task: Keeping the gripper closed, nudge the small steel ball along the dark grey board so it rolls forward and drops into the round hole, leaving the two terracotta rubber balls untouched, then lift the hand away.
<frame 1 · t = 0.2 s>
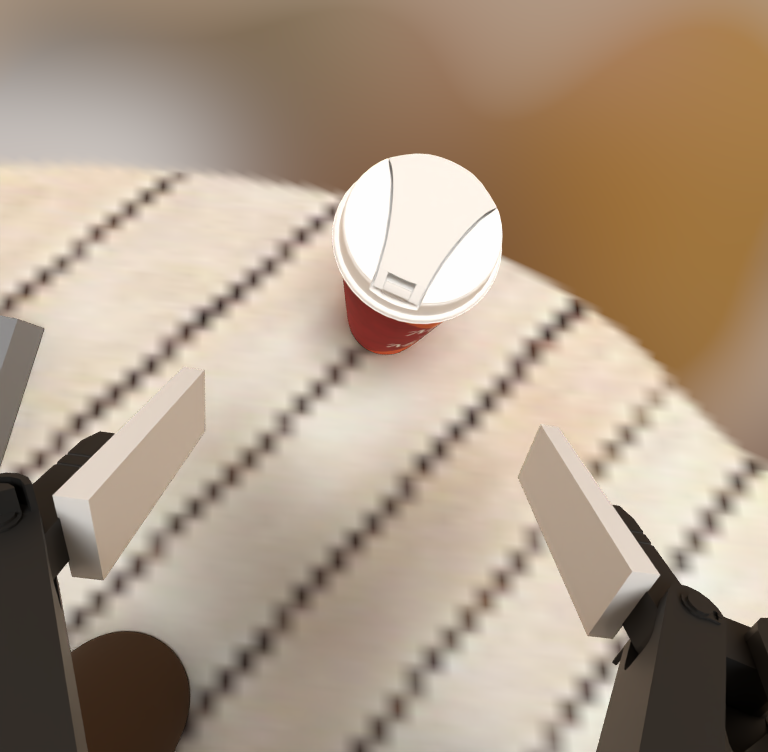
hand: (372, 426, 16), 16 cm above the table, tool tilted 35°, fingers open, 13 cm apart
olive oil: (117, 705, 27), on the table
coffee cup: (385, 318, 33), on the table
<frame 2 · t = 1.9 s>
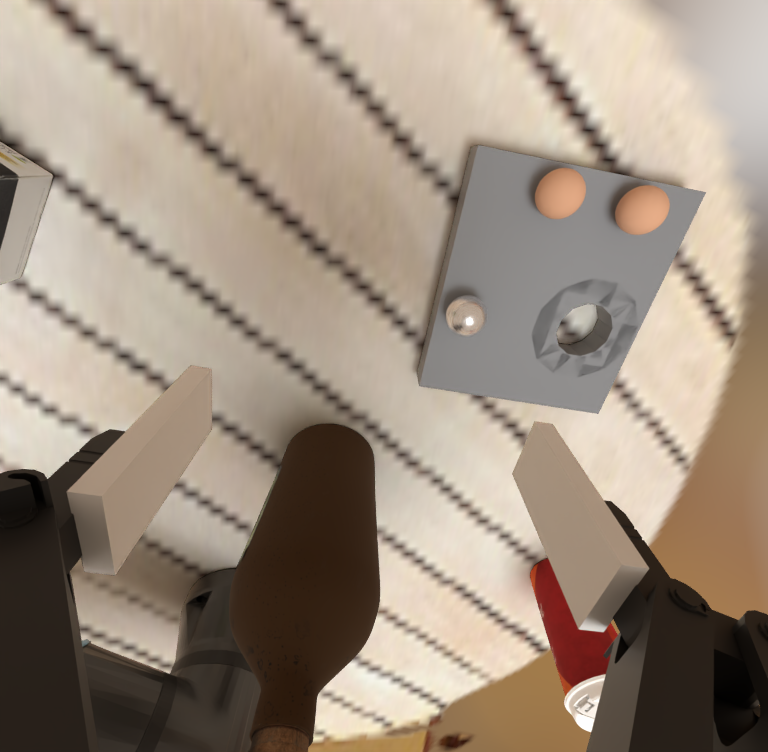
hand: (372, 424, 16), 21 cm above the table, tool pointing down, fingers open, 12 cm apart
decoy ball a: (559, 194, 28), point 4 cm above the table, touching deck
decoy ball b: (641, 210, 28), point 4 cm above the table, touching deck
ball: (466, 315, 31), point 4 cm above the table, touching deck
olive oil: (329, 458, 43), on the table
coffee cup: (553, 571, 51), on the table
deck: (536, 291, 35), on the table
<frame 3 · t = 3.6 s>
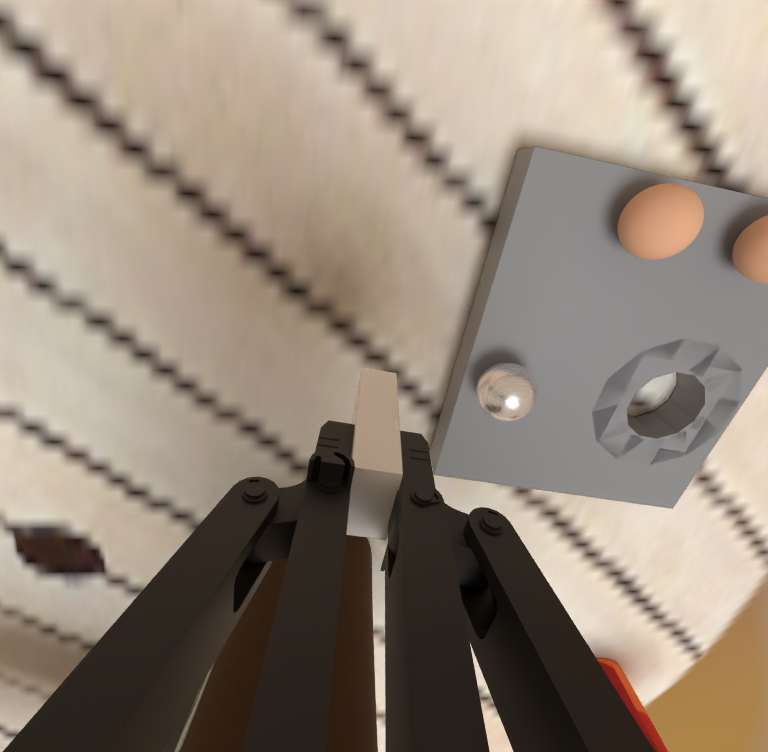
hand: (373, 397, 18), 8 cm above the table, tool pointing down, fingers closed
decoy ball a: (658, 222, 18), point 4 cm above the table, touching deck
ball: (506, 391, 22), point 4 cm above the table, touching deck
olive oil: (313, 549, 33), on the table
coffee cup: (590, 672, 42), on the table
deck: (597, 349, 25), on the table
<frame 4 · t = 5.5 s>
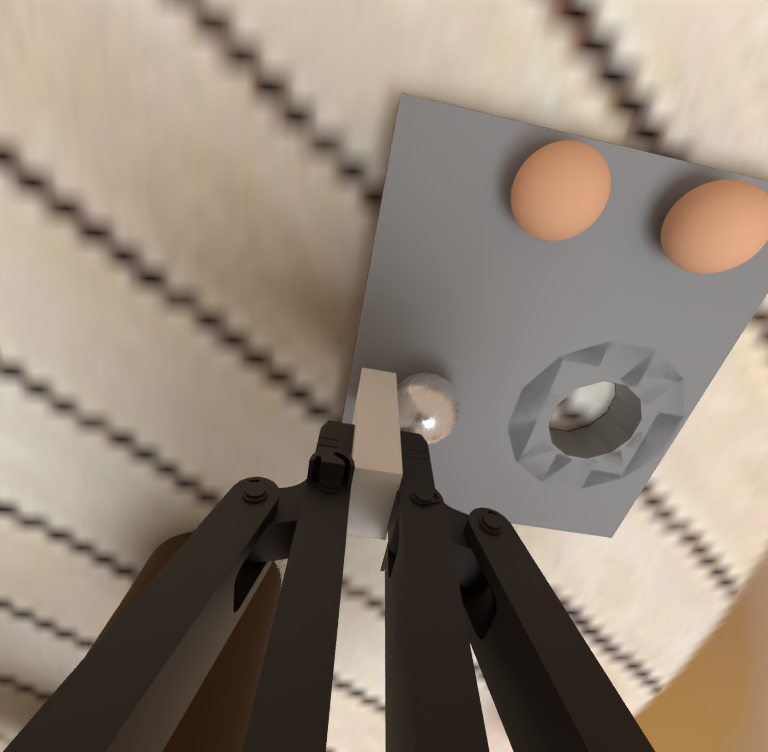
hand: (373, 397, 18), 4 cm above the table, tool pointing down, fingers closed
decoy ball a: (558, 193, 14), point 4 cm above the table, touching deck
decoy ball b: (713, 228, 15), point 4 cm above the table, touching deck
ball: (424, 408, 18), point 4 cm above the table, tilted 51°, touching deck
olive oil: (216, 573, 29), on the table
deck: (518, 352, 21), on the table
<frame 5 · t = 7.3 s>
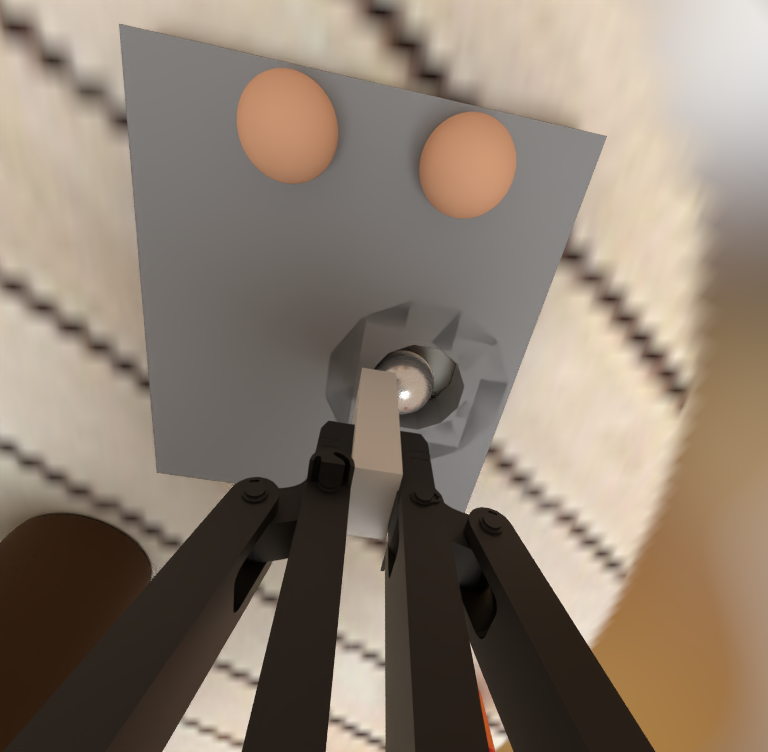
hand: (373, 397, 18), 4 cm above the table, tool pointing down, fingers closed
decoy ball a: (288, 129, 13), point 4 cm above the table, touching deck
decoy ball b: (466, 168, 14), point 4 cm above the table, touching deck
ball: (401, 382, 20), point 2 cm above the table, tilted 21°
olive oil: (84, 558, 29), on the table
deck: (343, 318, 20), on the table
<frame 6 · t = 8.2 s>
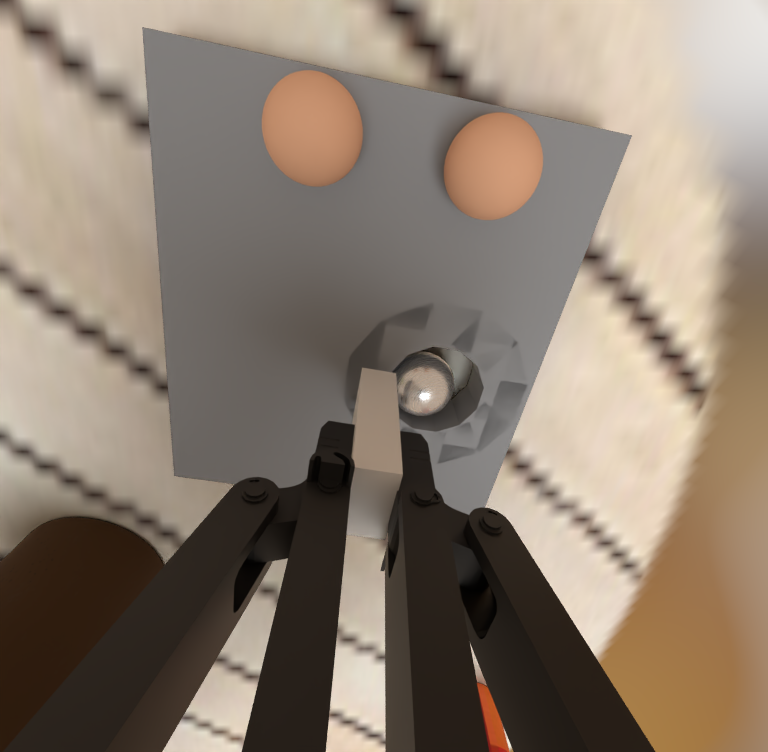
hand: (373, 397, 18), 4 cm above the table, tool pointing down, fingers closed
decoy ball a: (313, 132, 13), point 4 cm above the table, touching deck
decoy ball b: (491, 169, 14), point 4 cm above the table, touching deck
ball: (421, 383, 20), point 2 cm above the table, tilted 22°
olive oil: (99, 560, 29), on the table
coffee cup: (461, 696, 37), on the table
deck: (360, 320, 20), on the table
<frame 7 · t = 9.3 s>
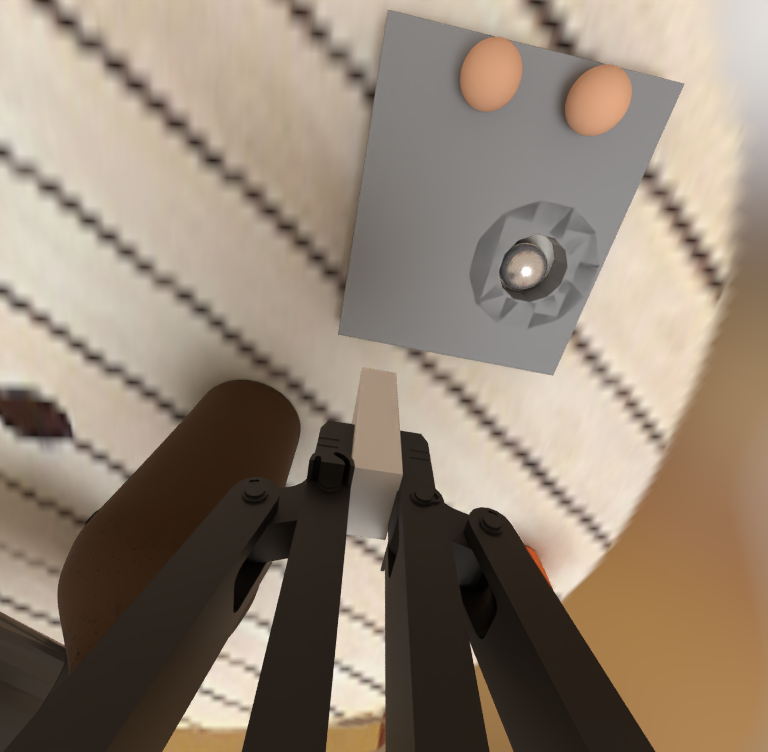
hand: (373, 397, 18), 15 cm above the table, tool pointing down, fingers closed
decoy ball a: (490, 75, 21), point 4 cm above the table, touching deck
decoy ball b: (597, 101, 22), point 4 cm above the table, touching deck
ball: (522, 266, 29), point 2 cm above the table, tilted 25°
olive oil: (250, 421, 38), on the table
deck: (479, 222, 29), on the table
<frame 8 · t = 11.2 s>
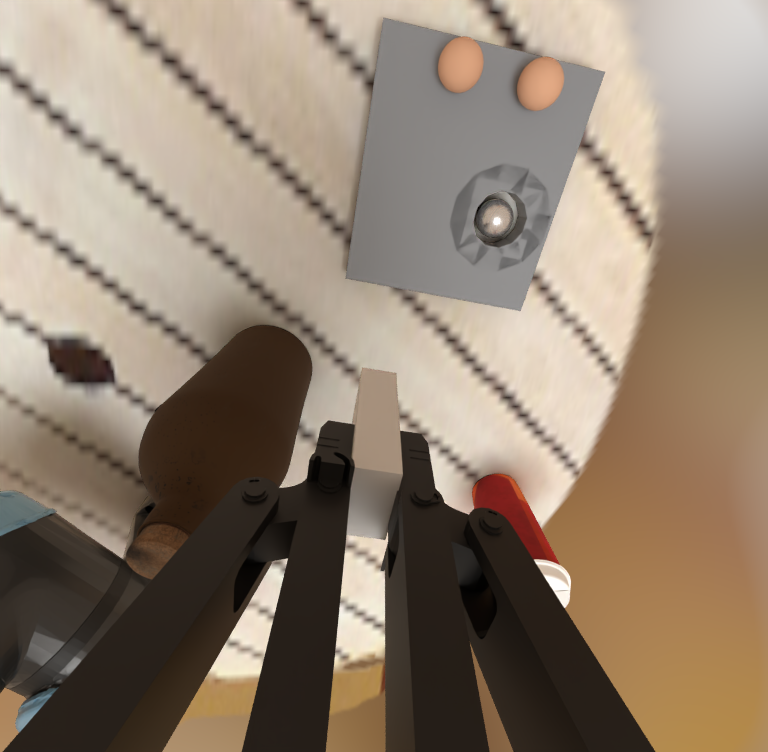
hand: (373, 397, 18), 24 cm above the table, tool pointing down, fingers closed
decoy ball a: (460, 65, 29), point 4 cm above the table, touching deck
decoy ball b: (540, 84, 29), point 4 cm above the table, touching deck
ball: (494, 218, 36), point 2 cm above the table, tilted 29°
olive oil: (269, 363, 44), on the table
coffee cup: (495, 490, 53), on the table
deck: (457, 184, 36), on the table
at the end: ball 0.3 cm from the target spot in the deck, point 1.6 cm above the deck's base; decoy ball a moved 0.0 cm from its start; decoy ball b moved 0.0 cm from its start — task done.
